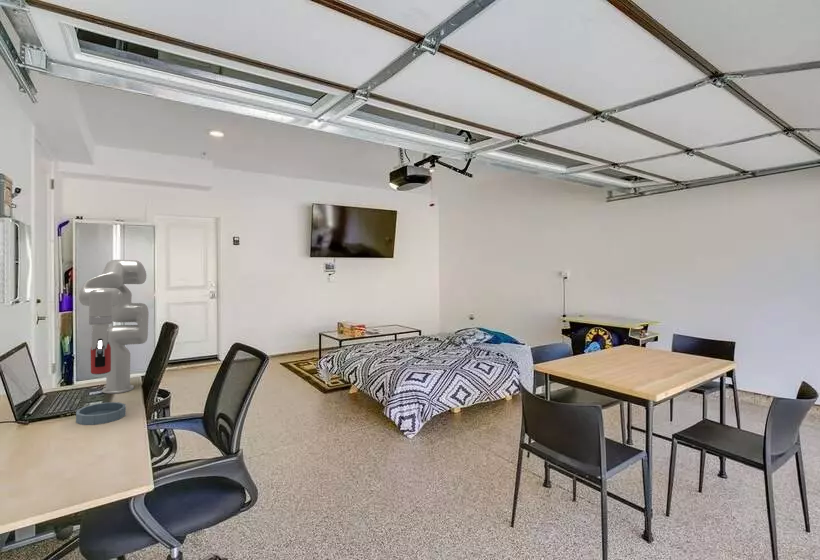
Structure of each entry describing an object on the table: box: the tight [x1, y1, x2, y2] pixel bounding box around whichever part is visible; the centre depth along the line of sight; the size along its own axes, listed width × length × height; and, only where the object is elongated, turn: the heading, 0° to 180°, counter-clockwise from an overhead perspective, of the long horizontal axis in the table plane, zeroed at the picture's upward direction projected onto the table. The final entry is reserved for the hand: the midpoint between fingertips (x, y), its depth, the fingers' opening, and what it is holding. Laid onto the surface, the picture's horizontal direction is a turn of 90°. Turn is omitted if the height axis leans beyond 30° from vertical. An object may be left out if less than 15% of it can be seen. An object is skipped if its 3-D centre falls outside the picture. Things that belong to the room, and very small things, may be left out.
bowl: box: [75, 401, 127, 426], centre depth 170 cm, size 16×16×4 cm
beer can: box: [90, 342, 111, 375], centre depth 170 cm, size 7×7×12 cm
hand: (100, 364), depth 170 cm, fingers closed on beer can, 6 cm apart
